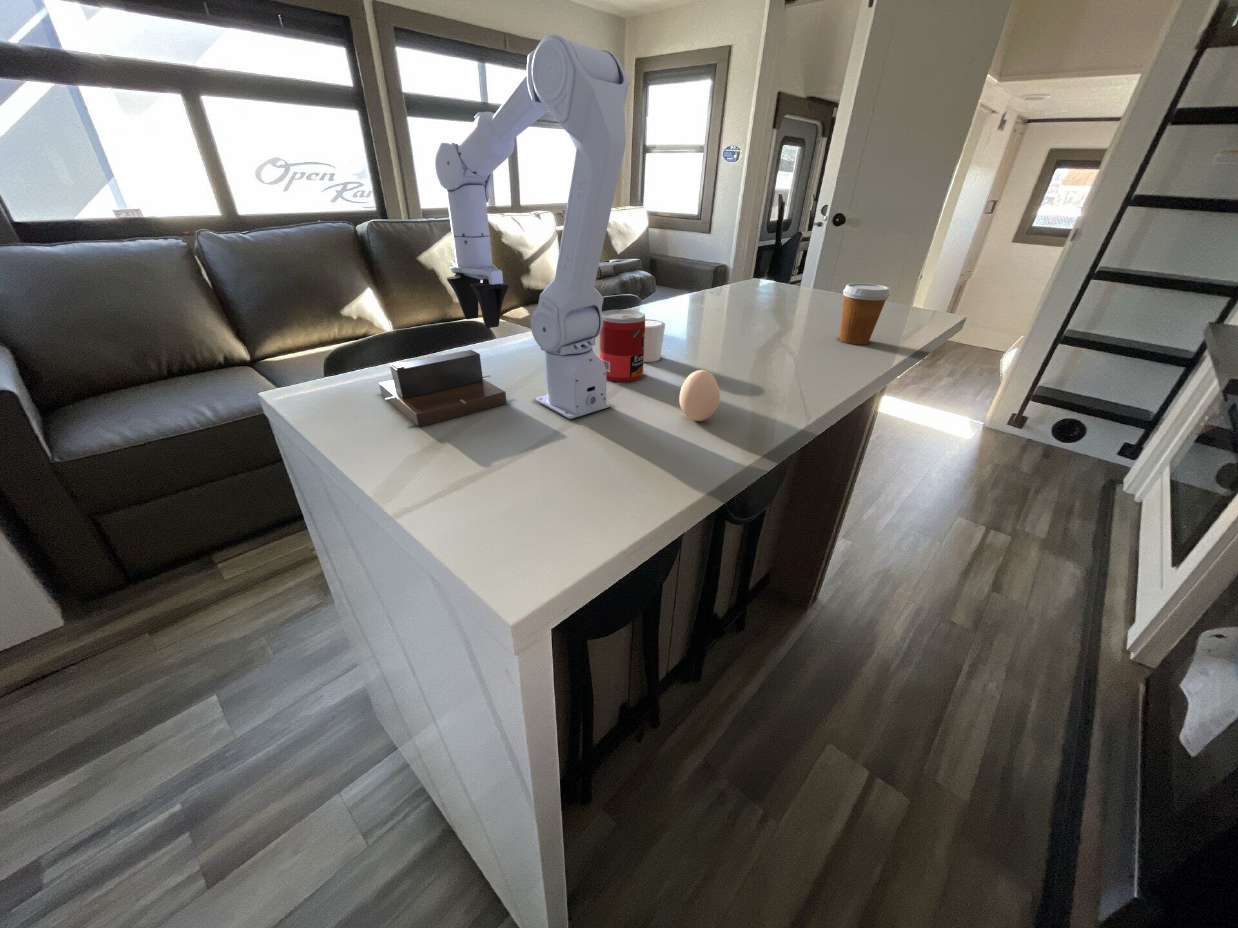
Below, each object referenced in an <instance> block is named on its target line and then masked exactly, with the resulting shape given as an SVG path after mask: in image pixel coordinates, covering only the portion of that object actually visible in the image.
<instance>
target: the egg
mask: <svg viewBox="0 0 1238 928" xmlns="http://www.w3.org/2000/svg"><path fill="white" fill-rule="evenodd" d="M720 397H721V394H720V387H719V385H718V382H717V380H716V378H715V377H714V375H713V374H712V373H711V372H709V371H707V370H705V369H698V370H695V371H693V372H691V373H690V374H689V375H688V376H687V377H686V379H685V380H684V381H683V383H682V385H681V388H680V391H679V397H678V398H679V399H678V400H679V406H680V409H681V411H682V412H683V414H684V416H686V417H687V418H688V419H689V420H692V421H694V422H702V421H706V420H707V419H709V418H711V416H713V415H714V414H715V412H716V411H717V408H718V407H719V403H720V399H721V398H720Z"/></svg>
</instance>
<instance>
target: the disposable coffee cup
mask: <svg viewBox="0 0 1238 928" xmlns="http://www.w3.org/2000/svg"><path fill="white" fill-rule="evenodd" d="M842 293H843V301H842V311H841V318H840V319H841V320H840V328H839V329H840V330H839V339H838V340H839V341H841V342H843V343H846V344H850V345H867V344H869V342H870V340H871V337H872V336H873V333H874V330H875V328H876V326H877V323H878V320H879V318H880V315H881V313H882V311H883V308H884V307H885V304H886V301H887V300H888V298H889V297H890V296H891V295H890V287H889V286H886V285H882V284H876V283H868V282H867V283H866V282H865V283H864V282H852V283H847V284H846V285H845V288H844V289H842Z"/></svg>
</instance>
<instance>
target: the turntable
mask: <svg viewBox="0 0 1238 928" xmlns="http://www.w3.org/2000/svg"><path fill="white" fill-rule="evenodd" d="M482 376H483V381H480V382H475V383H471V384H467V385H462V386H458V387H454V388H449V389H445V390H441V391H436V392H432V393H428V394H423V395H419V396H414V397H410V398H406V399H402V398H401V397H400V396H399V395H397V394H396V391H395V386H394V382H393V379H391V380H387V381H382V382H378V385H379V390H380V393H381V395H382V396H383V397H384V400H385V401H388V402H390V403H391V404H392V405H393V406H394V407H395V408H396V409H397V410H399V411H400V412H401V413H402V414H403V415H404V416H405V417H406V418H408V419H409V420H410V421H411V422H412V423H413V424H415V425H416V426H417V427H418V428H420V427H424V426H428V425H431V424H436V423H439V422H444V421H448V420H450V419H454V418H458V417H462V416H466V415H469V414H472V413H477V412H480V411H485V410H488V409H492V408H497V407H500V406H503V405H507V404H508V403H507V393H506V390H503V389H501V388H500V387H499V386H497V385H494V384H493V383H491V382H490V381H488V380H486V379H485V378H490V377H492V375H491V374H488V375H482Z"/></svg>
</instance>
